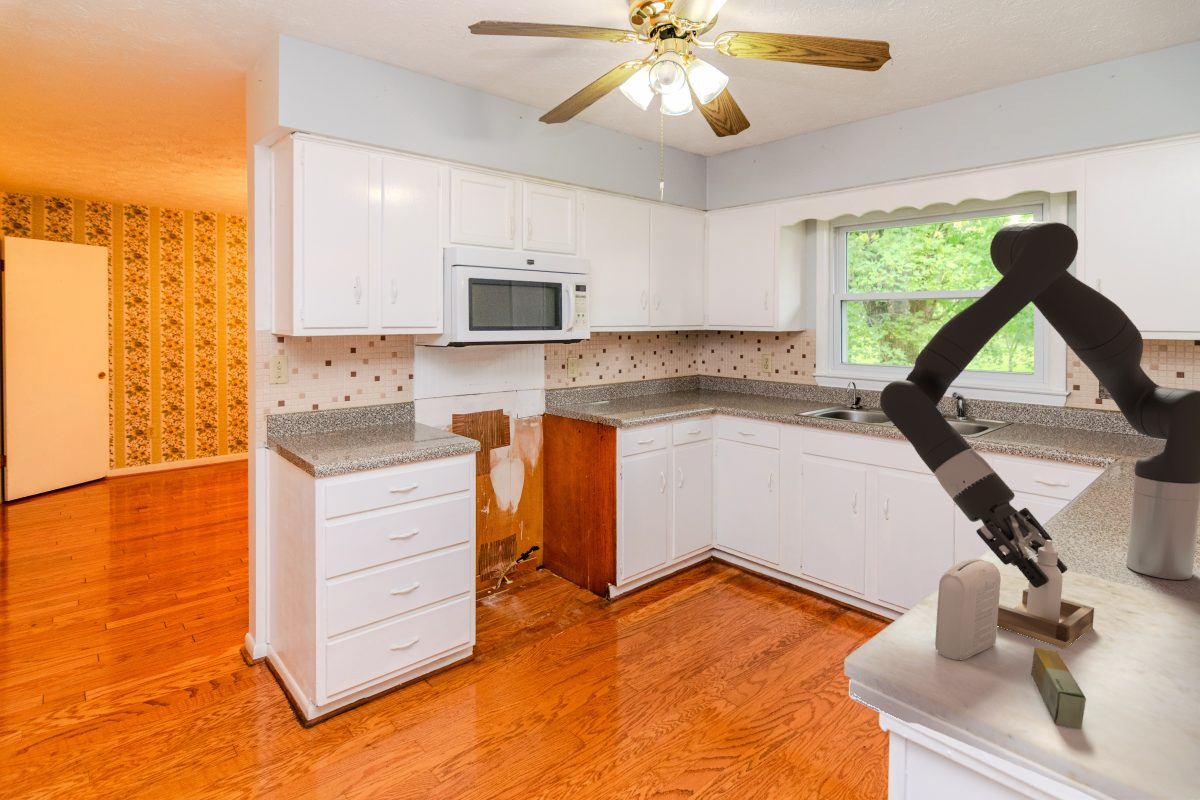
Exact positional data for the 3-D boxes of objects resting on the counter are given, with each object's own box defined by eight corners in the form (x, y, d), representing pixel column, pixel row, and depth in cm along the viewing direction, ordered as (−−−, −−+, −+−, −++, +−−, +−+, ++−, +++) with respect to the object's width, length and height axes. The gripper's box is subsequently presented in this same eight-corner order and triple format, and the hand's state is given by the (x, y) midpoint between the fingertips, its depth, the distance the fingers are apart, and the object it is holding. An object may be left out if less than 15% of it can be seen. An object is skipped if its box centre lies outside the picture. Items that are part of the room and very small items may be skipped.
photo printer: (969, 633, 97) (975, 550, 95) (1000, 644, 93) (1006, 558, 92) (929, 652, 91) (934, 564, 90) (961, 665, 88) (966, 574, 86)
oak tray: (1024, 607, 106) (1026, 588, 105) (1092, 627, 98) (1094, 607, 98) (994, 626, 99) (996, 606, 99) (1065, 649, 92) (1066, 628, 91)
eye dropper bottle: (1062, 617, 99) (1069, 539, 98) (1057, 630, 95) (1064, 548, 94) (1028, 609, 102) (1034, 533, 101) (1021, 621, 98) (1028, 542, 97)
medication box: (1083, 732, 73) (1087, 698, 73) (1054, 726, 74) (1058, 692, 74) (1054, 679, 85) (1057, 649, 84) (1029, 674, 86) (1032, 644, 85)
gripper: (970, 477, 99) (1056, 578, 91) (1011, 465, 107) (1092, 556, 99) (932, 504, 103) (1010, 603, 95) (974, 491, 112) (1049, 579, 104)
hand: (1052, 578), depth 97 cm, fingers open, 6 cm apart
